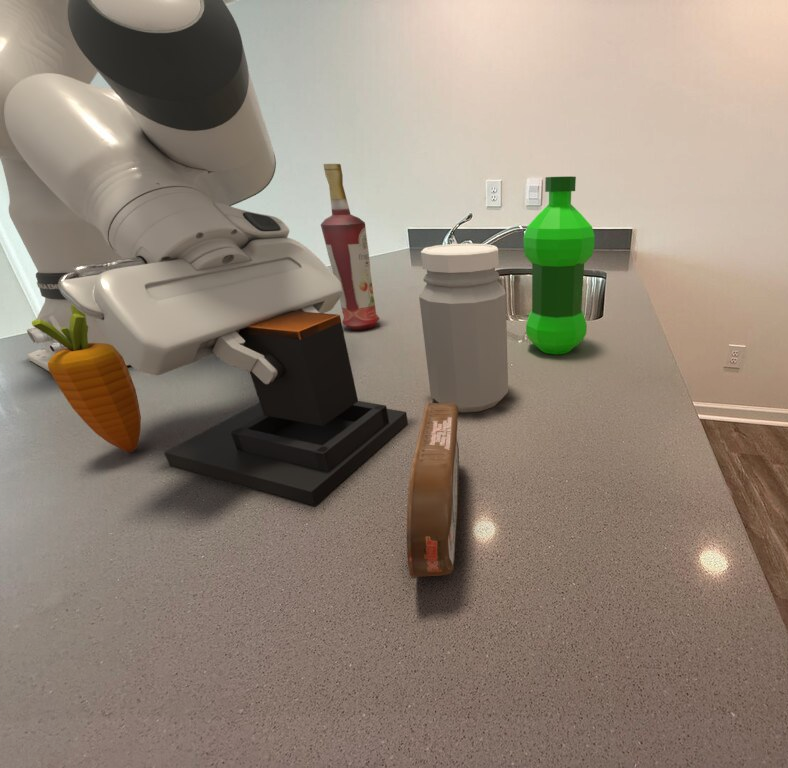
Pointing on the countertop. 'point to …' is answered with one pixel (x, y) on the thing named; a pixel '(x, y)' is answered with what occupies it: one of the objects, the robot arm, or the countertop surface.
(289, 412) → the pad block
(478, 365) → the jar
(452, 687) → the countertop surface
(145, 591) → the countertop surface
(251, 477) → the base pad
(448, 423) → the tin
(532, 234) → the plastic bottle
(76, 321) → the carrot
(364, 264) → the liquor
